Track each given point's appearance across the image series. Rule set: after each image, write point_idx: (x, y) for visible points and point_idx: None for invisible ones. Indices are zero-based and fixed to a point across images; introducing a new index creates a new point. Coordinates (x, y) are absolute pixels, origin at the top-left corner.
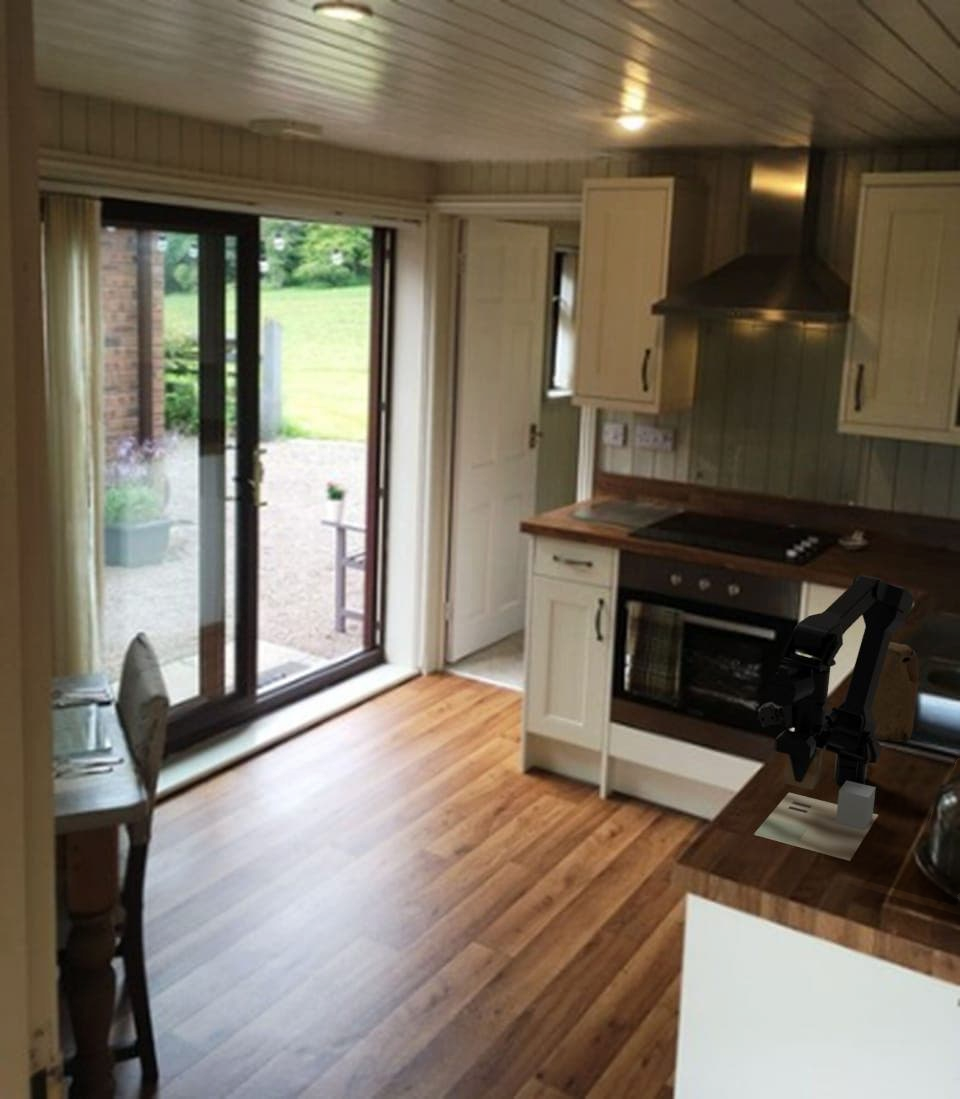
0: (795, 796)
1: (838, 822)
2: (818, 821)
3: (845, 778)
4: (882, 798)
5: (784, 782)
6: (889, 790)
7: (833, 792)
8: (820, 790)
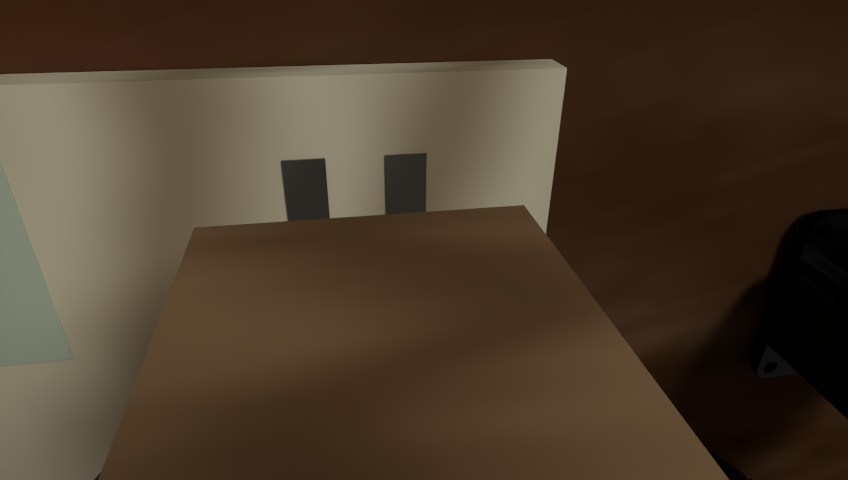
0: (518, 134)
1: None
2: None
3: (819, 349)
4: (741, 429)
5: (192, 237)
6: (834, 422)
7: (739, 256)
8: (744, 193)
